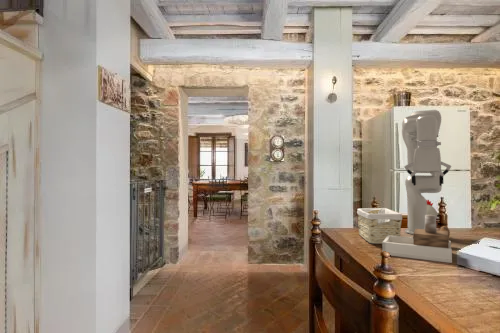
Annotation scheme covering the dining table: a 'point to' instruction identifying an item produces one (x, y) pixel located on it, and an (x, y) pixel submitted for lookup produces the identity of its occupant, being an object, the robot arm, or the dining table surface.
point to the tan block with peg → (431, 234)
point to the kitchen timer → (431, 209)
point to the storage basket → (378, 224)
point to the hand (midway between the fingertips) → (427, 185)
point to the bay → (415, 249)
